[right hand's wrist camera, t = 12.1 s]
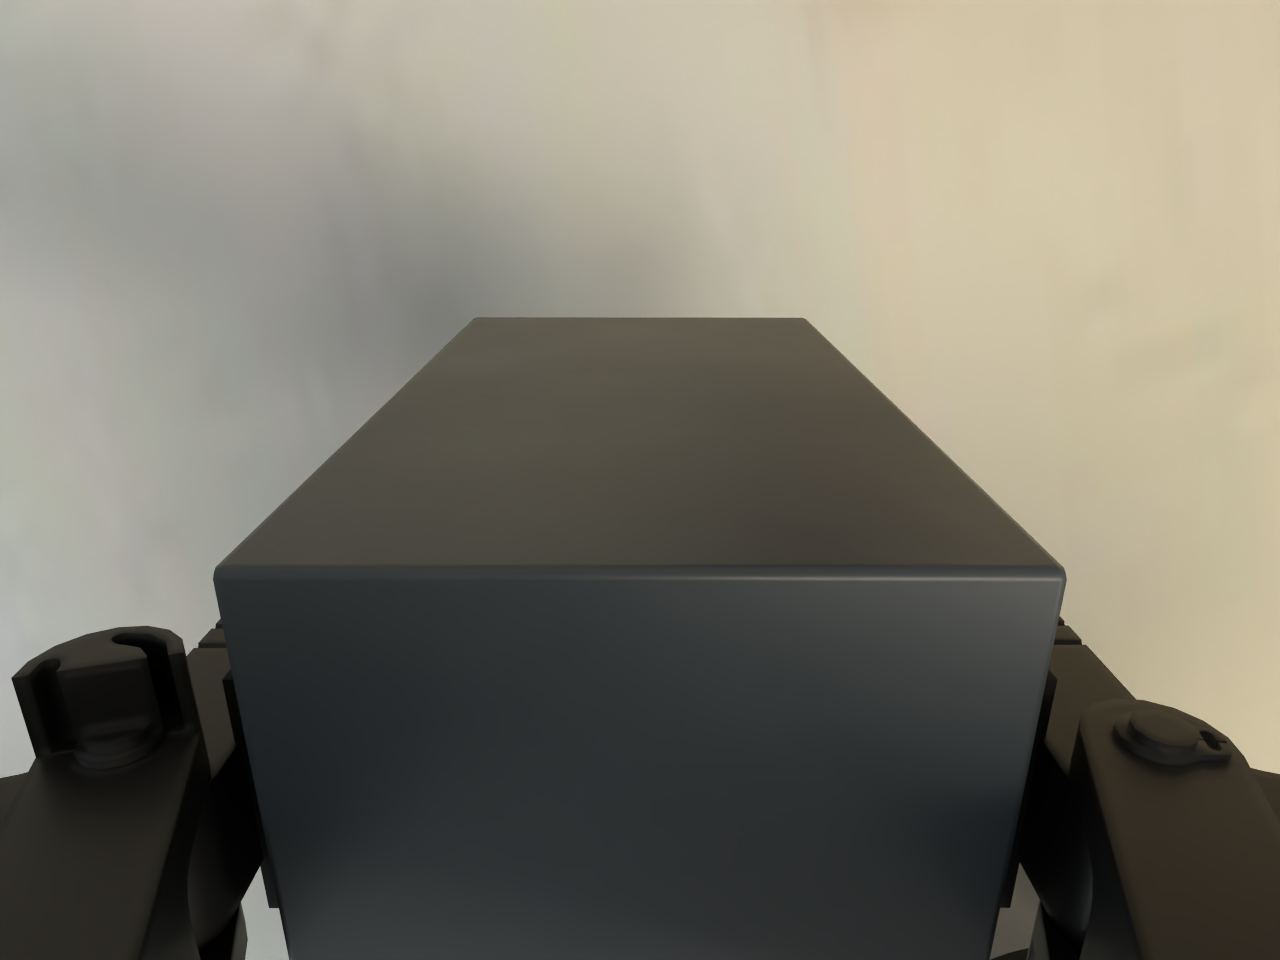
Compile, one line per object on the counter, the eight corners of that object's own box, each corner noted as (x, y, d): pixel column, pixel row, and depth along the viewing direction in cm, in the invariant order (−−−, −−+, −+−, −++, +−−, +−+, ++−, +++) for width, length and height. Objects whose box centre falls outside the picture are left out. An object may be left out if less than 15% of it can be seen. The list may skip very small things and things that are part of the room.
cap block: (785, 610, 17) (956, 1139, 8) (493, 610, 17) (321, 1139, 8) (806, 316, 15) (1074, 569, 6) (472, 316, 15) (205, 569, 6)
